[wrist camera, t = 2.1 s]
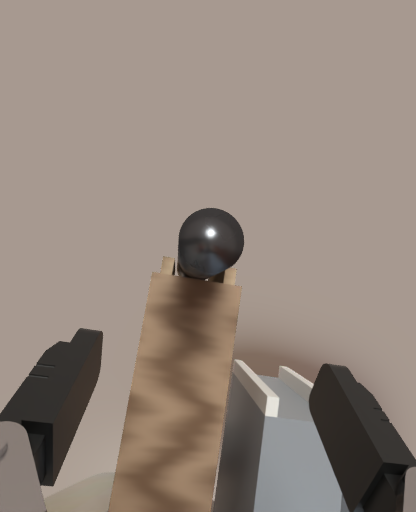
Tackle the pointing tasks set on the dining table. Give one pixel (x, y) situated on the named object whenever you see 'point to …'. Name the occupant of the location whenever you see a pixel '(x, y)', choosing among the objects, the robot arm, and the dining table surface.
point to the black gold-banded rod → (208, 244)
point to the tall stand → (177, 394)
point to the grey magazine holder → (273, 448)
